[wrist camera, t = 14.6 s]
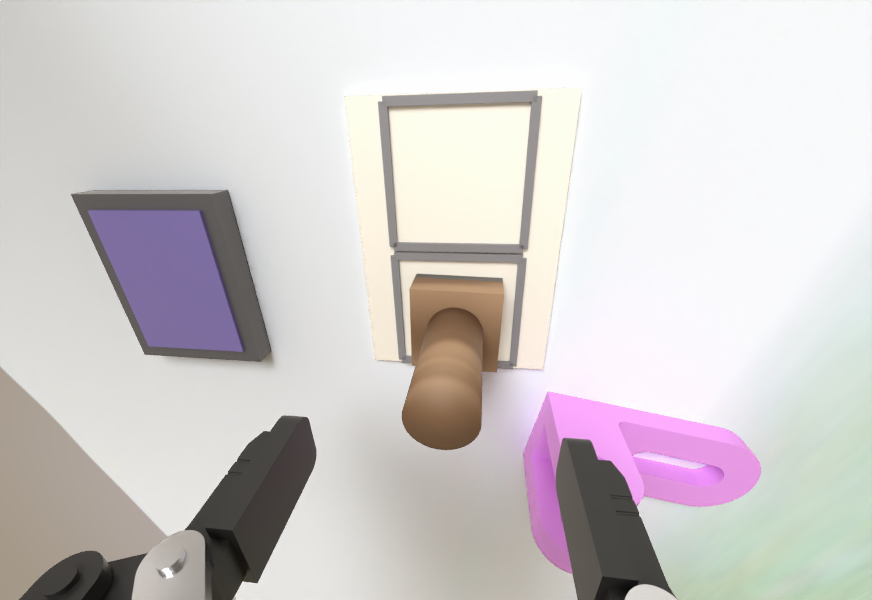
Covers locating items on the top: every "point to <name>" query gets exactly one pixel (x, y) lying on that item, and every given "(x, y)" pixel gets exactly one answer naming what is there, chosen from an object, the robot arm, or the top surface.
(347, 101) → the sheet
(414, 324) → the stamp
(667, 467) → the bracket
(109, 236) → the ink pad
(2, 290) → the top surface
